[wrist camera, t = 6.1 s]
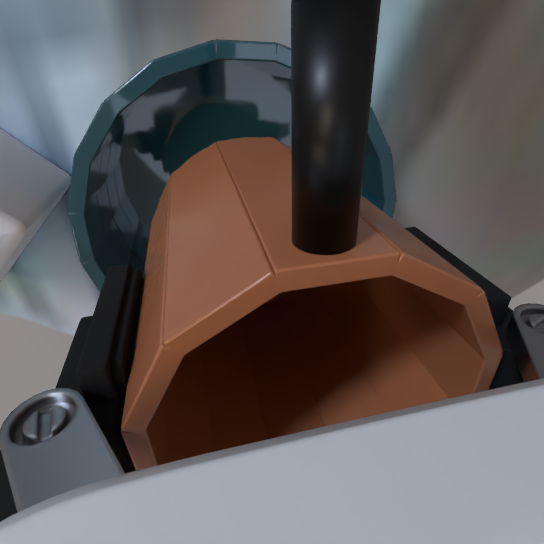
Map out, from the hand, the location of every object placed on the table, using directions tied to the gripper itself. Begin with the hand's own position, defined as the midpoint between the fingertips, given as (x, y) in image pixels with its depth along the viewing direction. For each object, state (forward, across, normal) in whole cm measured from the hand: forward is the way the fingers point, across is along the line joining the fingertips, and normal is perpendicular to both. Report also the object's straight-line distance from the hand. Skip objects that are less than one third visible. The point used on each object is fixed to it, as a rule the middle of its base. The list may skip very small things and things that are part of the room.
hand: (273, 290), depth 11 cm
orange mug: (+4, 0, -2) cm, 5 cm away
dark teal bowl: (+11, 0, +1) cm, 11 cm away
